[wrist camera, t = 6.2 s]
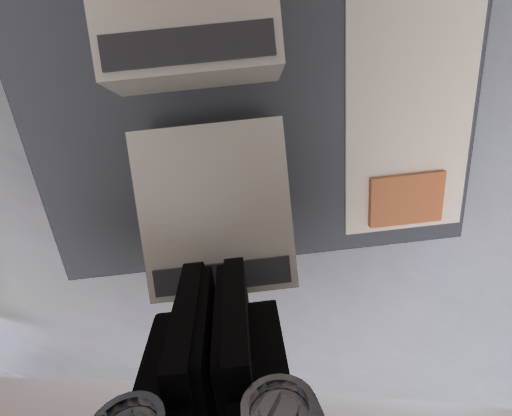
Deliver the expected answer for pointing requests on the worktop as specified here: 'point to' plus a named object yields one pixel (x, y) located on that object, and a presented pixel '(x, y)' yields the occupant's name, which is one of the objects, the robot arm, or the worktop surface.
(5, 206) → the worktop surface
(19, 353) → the worktop surface
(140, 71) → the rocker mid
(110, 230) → the switch unit
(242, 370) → the robot arm
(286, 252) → the rocker
